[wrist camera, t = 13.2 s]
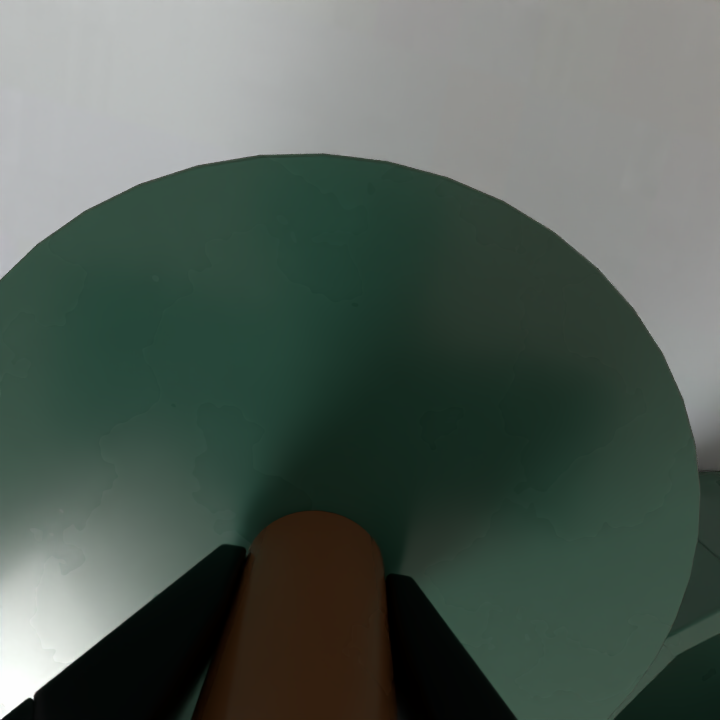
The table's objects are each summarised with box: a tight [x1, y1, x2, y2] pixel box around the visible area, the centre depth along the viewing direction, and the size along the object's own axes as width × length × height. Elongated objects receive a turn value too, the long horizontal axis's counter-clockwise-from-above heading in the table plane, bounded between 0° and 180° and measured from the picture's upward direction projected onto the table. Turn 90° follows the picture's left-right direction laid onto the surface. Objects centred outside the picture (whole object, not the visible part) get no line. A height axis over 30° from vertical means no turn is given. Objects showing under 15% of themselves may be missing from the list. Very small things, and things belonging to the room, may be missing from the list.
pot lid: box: [0, 153, 701, 720], centre depth 6 cm, size 13×13×5 cm
